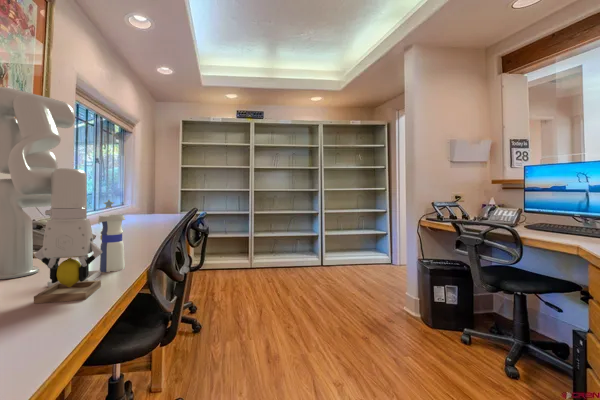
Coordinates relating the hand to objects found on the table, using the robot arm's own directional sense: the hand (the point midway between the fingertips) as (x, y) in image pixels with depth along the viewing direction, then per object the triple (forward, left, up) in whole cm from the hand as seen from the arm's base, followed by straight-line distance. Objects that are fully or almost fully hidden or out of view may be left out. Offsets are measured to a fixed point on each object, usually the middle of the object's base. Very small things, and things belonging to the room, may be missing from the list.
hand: (69, 280), depth 79 cm
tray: (0, 0, -4) cm, 4 cm away
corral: (-4, +14, -4) cm, 15 cm away
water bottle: (+3, +26, -4) cm, 26 cm away
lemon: (0, 0, -2) cm, 2 cm away
